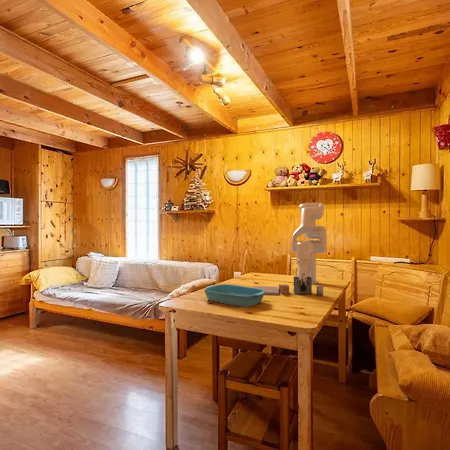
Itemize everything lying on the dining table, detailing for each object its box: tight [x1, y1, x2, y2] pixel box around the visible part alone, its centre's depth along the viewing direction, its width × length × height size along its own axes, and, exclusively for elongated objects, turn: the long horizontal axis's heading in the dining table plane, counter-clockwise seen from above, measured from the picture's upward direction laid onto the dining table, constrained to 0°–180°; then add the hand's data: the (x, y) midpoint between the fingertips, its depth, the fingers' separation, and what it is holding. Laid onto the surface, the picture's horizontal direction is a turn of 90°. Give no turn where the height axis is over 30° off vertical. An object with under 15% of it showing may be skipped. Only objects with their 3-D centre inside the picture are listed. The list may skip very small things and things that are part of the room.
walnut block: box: [278, 283, 290, 295], centre depth 198 cm, size 5×5×5 cm
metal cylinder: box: [316, 284, 324, 297], centre depth 192 cm, size 4×4×6 cm
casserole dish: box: [203, 283, 265, 308], centre depth 177 cm, size 37×22×7 cm, turn 54°
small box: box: [293, 275, 313, 296], centre depth 197 cm, size 11×6×10 cm, turn 84°
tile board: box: [252, 285, 280, 296], centre depth 202 cm, size 18×16×2 cm
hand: (302, 289), depth 197 cm, fingers closed on small box, 6 cm apart
